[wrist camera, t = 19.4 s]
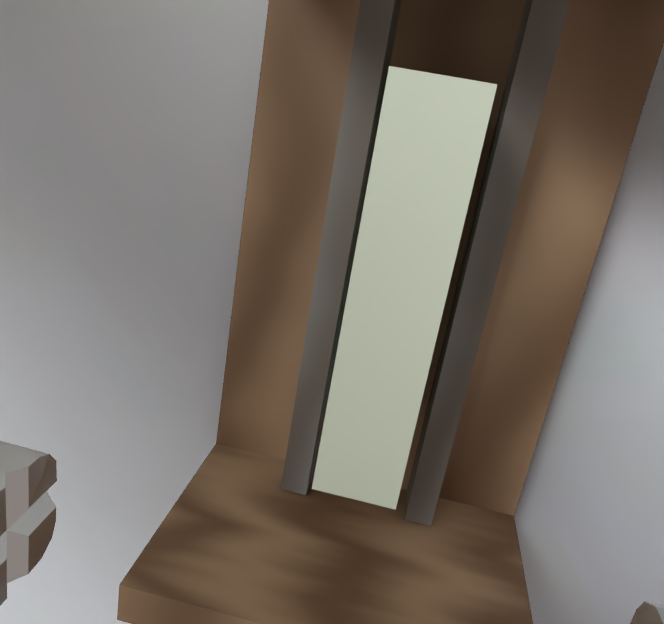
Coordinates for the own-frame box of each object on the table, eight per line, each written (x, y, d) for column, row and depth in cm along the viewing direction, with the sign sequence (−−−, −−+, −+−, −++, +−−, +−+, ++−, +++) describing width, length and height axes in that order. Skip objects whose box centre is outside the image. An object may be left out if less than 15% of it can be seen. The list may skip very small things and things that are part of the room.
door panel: (345, 392, 29) (311, 488, 22) (405, 80, 25) (389, 65, 17) (407, 406, 29) (395, 509, 21) (480, 93, 24) (497, 84, 17)
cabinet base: (222, 455, 33) (117, 619, 22) (291, -102, 25) (175, -268, 14) (502, 523, 32) (533, 736, 21) (679, -46, 23) (886, -186, 12)
